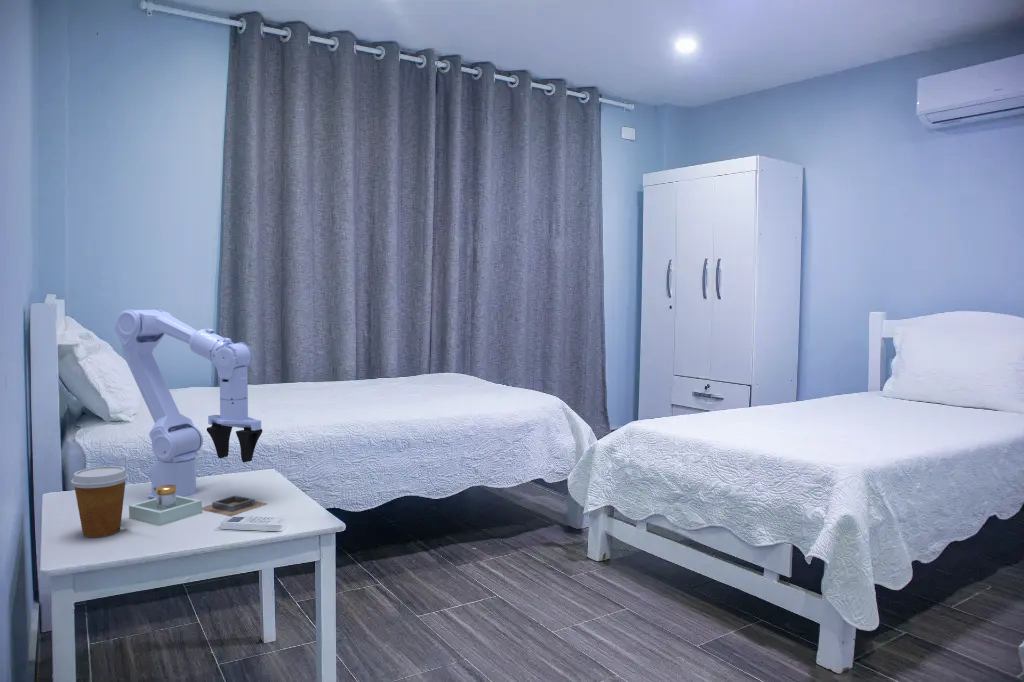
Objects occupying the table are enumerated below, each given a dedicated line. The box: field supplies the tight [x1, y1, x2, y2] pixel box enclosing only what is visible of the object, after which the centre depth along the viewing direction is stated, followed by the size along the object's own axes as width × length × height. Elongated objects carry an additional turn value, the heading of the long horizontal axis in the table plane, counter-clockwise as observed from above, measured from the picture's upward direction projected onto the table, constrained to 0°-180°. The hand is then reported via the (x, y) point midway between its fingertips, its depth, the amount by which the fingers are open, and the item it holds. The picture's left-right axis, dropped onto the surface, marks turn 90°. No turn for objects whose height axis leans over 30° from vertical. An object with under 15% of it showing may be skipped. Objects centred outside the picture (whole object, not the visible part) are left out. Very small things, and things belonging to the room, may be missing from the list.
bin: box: [128, 495, 203, 527], centre depth 146 cm, size 10×10×4 cm
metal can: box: [156, 485, 176, 511], centre depth 146 cm, size 4×4×6 cm
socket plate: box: [202, 495, 268, 517], centre depth 152 cm, size 10×10×2 cm
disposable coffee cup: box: [70, 465, 129, 538], centre depth 137 cm, size 10×10×12 cm
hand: (234, 459), depth 157 cm, fingers open, 7 cm apart
